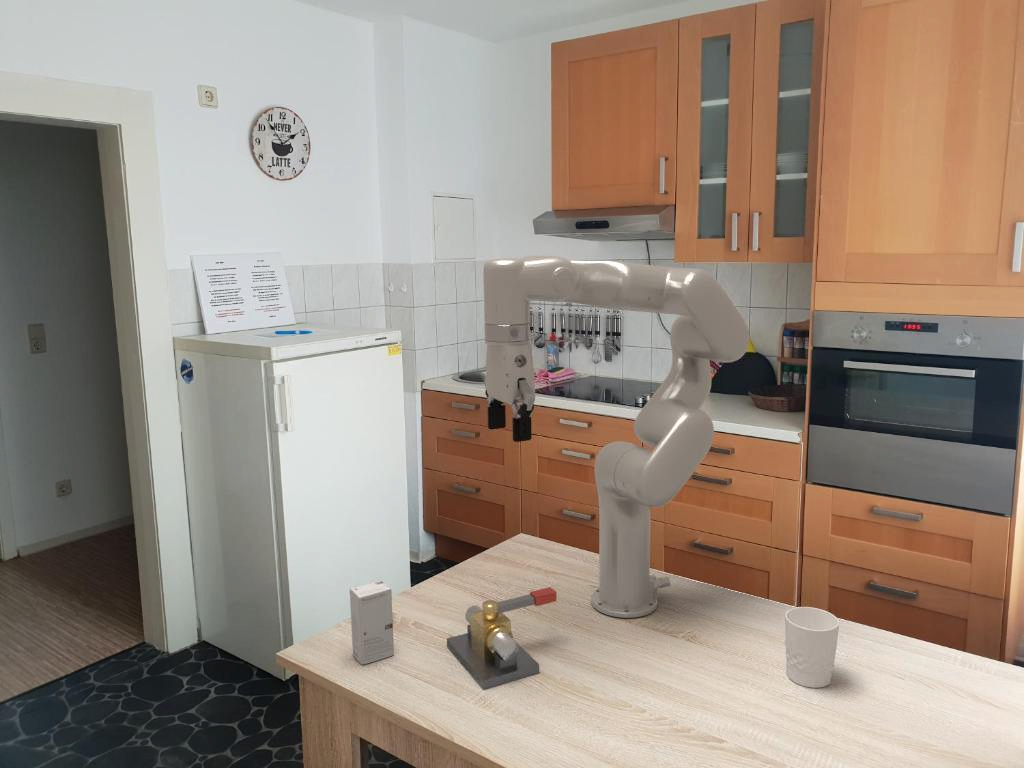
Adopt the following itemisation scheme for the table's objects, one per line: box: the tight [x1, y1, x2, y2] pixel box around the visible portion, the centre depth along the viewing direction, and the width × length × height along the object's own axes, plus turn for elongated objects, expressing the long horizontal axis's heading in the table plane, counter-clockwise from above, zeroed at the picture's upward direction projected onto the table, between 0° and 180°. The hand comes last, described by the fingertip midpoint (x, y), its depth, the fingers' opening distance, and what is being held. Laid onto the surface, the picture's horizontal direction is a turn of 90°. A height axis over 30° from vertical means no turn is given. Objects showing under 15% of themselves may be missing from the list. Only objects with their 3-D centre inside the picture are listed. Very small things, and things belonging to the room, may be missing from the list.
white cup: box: [784, 606, 840, 689], centre depth 124 cm, size 8×8×10 cm
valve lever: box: [481, 586, 558, 619], centre depth 132 cm, size 13×3×2 cm, turn 117°
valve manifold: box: [446, 605, 540, 691], centre depth 131 cm, size 10×15×8 cm, turn 27°
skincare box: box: [349, 580, 395, 666], centre depth 132 cm, size 6×4×12 cm
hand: (509, 434), depth 133 cm, fingers open, 9 cm apart
